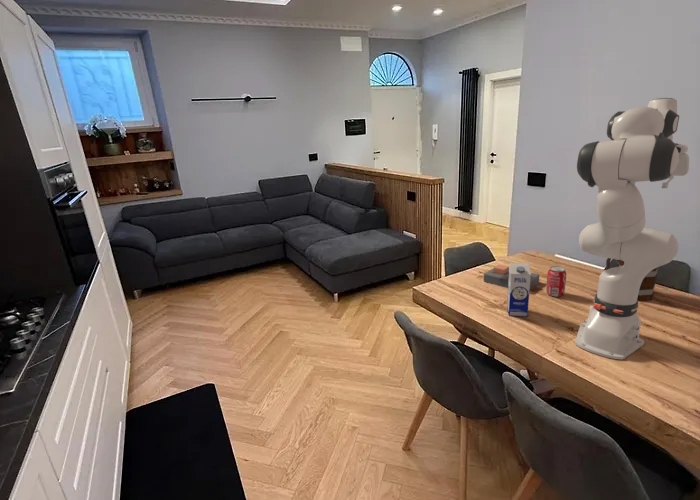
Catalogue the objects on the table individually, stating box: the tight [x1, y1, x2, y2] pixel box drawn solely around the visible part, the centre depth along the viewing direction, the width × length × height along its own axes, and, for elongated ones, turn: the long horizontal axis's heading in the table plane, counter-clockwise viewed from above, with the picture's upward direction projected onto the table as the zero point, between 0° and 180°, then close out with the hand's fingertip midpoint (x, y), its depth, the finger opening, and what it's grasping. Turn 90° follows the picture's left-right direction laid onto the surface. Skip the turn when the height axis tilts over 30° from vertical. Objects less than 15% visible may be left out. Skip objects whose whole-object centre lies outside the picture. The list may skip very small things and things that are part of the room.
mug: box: [605, 258, 659, 302], centre depth 157 cm, size 20×14×15 cm
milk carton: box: [506, 262, 532, 318], centre depth 147 cm, size 7×7×20 cm
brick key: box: [493, 264, 509, 275], centre depth 179 cm, size 5×5×3 cm
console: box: [483, 267, 541, 290], centre depth 176 cm, size 14×20×4 cm
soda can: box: [545, 265, 567, 298], centre depth 160 cm, size 7×7×12 cm
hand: (647, 187), depth 136 cm, fingers open, 8 cm apart
